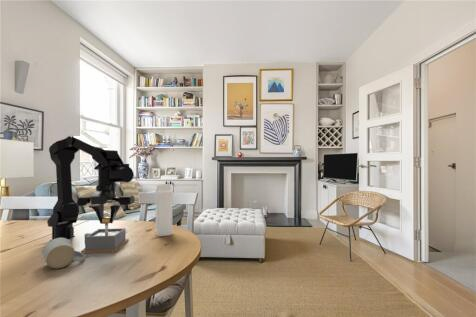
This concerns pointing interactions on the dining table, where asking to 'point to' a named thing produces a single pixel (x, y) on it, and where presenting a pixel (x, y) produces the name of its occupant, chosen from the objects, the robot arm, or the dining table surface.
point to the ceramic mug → (61, 253)
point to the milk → (164, 210)
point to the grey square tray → (105, 241)
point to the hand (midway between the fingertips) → (106, 223)
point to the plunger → (106, 228)
